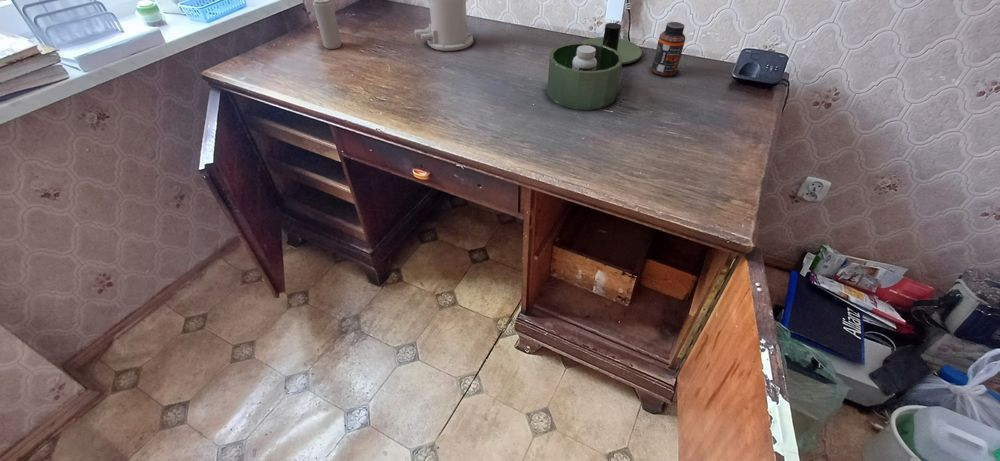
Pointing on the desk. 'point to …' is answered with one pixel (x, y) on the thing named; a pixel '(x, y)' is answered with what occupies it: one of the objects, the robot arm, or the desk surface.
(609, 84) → the waste tin
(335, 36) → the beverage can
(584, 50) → the pill bottle
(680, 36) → the supplement bottle
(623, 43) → the tin lid
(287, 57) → the desk surface
